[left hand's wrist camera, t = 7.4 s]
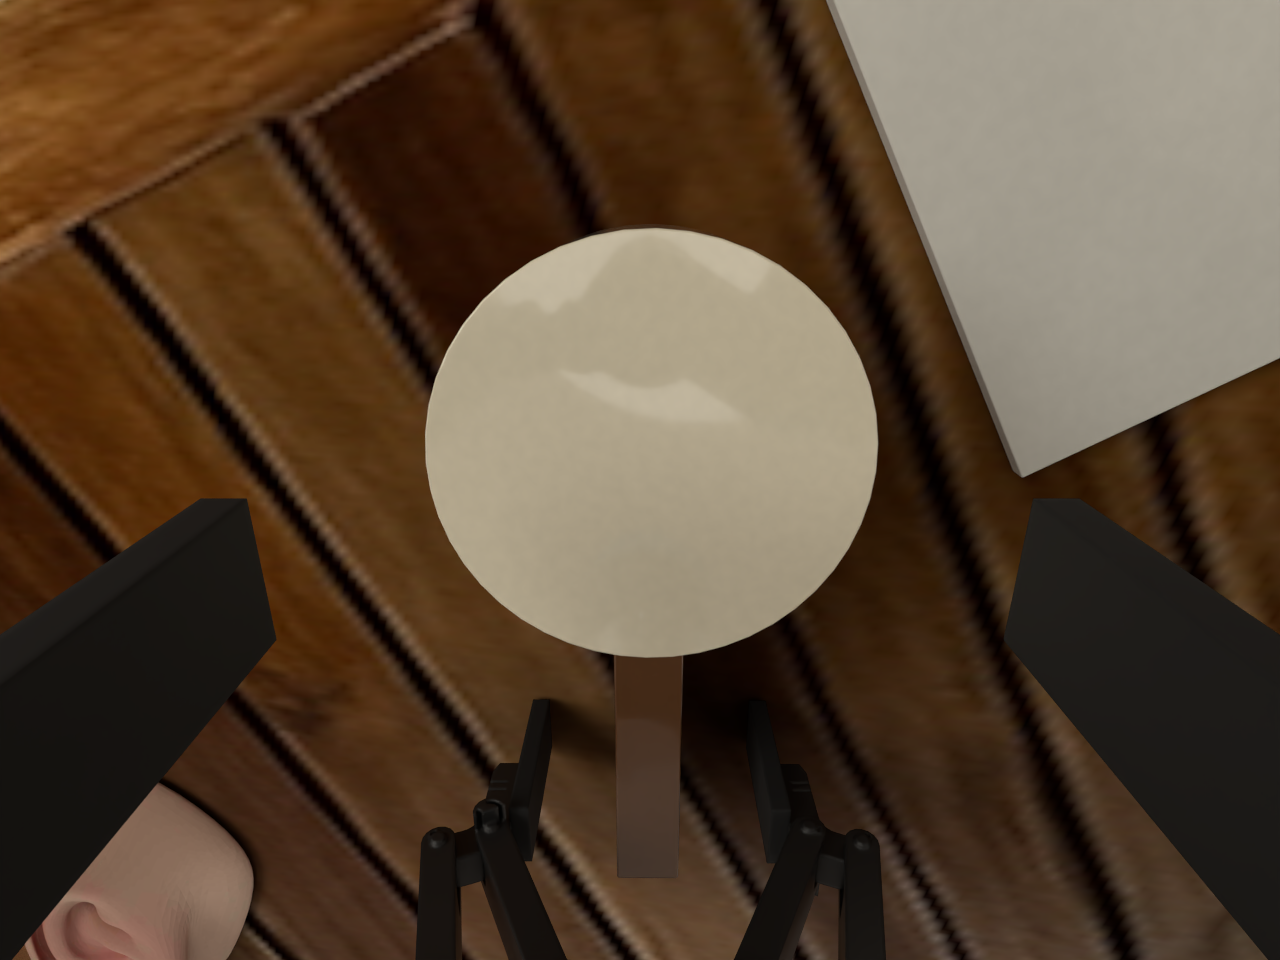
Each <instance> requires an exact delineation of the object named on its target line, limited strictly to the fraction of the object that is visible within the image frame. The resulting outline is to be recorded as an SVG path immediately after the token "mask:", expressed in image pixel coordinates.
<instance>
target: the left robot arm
mask: <svg viewBox="0 0 1280 960" xmlns="http://www.w3.org/2000/svg"><path fill="white" fill-rule="evenodd" d="M275 641H276V635H275V630H274V626H273V621H272V616H271V611H270V607H269V602H268V597H267V593H266V588H265V583H264V578H263V574H262V569H261V564H260V559H259V555H258V550H257V545H256V540H255V536H254V531H253V526H252V522H251V517H250V512H249V507H248V503H247V499H199V500H198V501H197V502H195V503H194V504H192V505H191V506H189V507H188V508H186V509H185V510H183V511H182V512H180V513H179V514H177V515H176V516H174V517H173V518H171V519H170V520H169V521H167V522H166V523H164V524H163V525H161V526H160V527H158V528H157V529H155V530H154V531H152V532H151V533H149V534H148V535H146V536H145V537H144V538H142V539H141V540H139V541H138V542H136V543H135V544H133V545H132V546H130V547H129V548H127V549H126V550H124V551H123V552H121V553H120V554H119V555H117V556H116V557H114V558H113V559H111V560H110V561H108V562H107V563H105V564H104V565H102V566H101V567H99V568H98V569H96V570H95V571H94V572H92V573H91V574H89V575H88V576H86V577H85V578H83V579H82V580H80V581H79V582H77V583H76V584H74V585H73V586H71V587H70V588H68V589H67V590H66V591H64V592H63V593H61V594H60V595H58V596H57V597H55V598H54V599H52V600H51V601H49V602H48V603H46V604H45V605H43V606H42V607H41V608H39V609H38V610H36V611H35V612H33V613H32V614H30V615H29V616H27V617H26V618H24V619H23V620H21V621H20V622H18V623H17V624H16V625H14V626H13V627H11V628H10V629H8V630H7V631H5V632H4V633H2V634H1V635H0V960H12V959H13V958H14V956H15V955H16V954H17V953H18V952H19V950H20V949H21V948H22V947H23V946H24V944H25V943H26V942H27V941H28V940H29V938H30V937H31V936H32V935H33V933H34V932H35V931H36V930H37V929H38V927H39V926H40V925H41V924H42V923H43V921H44V920H45V919H46V918H47V917H48V915H49V914H50V913H51V912H52V911H53V909H54V908H55V907H56V906H57V904H58V903H59V902H60V901H61V900H62V898H63V897H64V896H65V895H66V894H67V892H68V891H69V890H70V889H71V888H72V886H73V885H74V884H75V883H76V881H77V880H78V879H79V878H80V877H81V875H82V874H83V873H84V872H85V871H86V869H87V868H88V867H89V866H90V865H91V863H92V862H93V861H94V860H95V859H96V857H97V856H98V855H99V854H100V852H101V851H102V850H103V849H104V848H105V846H106V845H107V844H108V843H109V842H110V840H111V839H112V838H113V837H114V836H115V834H116V833H117V832H118V831H119V829H120V828H121V827H122V826H123V825H124V823H125V822H126V821H127V820H128V819H129V817H130V816H131V815H132V814H133V813H134V811H135V810H136V809H137V808H138V807H139V805H140V804H141V803H142V802H143V800H144V799H145V798H146V797H147V796H148V794H149V793H150V792H151V791H152V790H153V788H154V787H155V786H156V785H157V784H158V782H159V781H160V780H161V779H162V778H163V776H164V775H165V774H166V773H167V771H168V770H169V769H170V768H171V767H172V765H173V764H174V763H175V762H176V761H177V759H178V758H179V757H180V756H181V755H182V753H183V752H184V751H185V750H186V748H187V747H188V746H189V745H190V744H191V742H192V741H193V740H194V739H195V738H196V736H197V735H198V734H199V733H200V732H201V730H202V729H203V728H204V727H205V726H206V724H207V723H208V722H209V721H210V719H211V718H212V717H213V716H214V715H215V713H216V712H217V711H218V710H219V709H220V707H221V706H222V705H223V704H224V703H225V701H226V700H227V699H228V698H229V696H230V695H231V694H232V693H233V692H234V690H235V689H236V688H237V687H238V686H239V684H240V683H241V682H242V681H243V680H244V678H245V677H246V676H247V675H248V674H249V672H250V671H251V670H252V669H253V667H254V666H255V665H256V664H257V663H258V661H259V660H260V659H261V658H262V657H263V655H264V654H265V653H266V652H267V651H268V649H269V648H270V647H271V646H272V644H273V643H274V642H275ZM1004 641H1005V642H1006V643H1007V644H1008V646H1009V647H1010V648H1011V649H1012V651H1013V652H1014V653H1015V654H1016V655H1017V657H1018V658H1019V659H1020V660H1021V661H1022V663H1023V664H1024V665H1025V666H1026V667H1027V669H1028V670H1029V671H1030V672H1031V674H1032V675H1033V676H1034V677H1035V678H1036V680H1037V681H1038V682H1039V683H1040V684H1041V686H1042V687H1043V688H1044V689H1045V690H1046V692H1047V693H1048V694H1049V695H1050V696H1051V698H1052V699H1053V700H1054V701H1055V703H1056V704H1057V705H1058V706H1059V707H1060V709H1061V710H1062V711H1063V712H1064V713H1065V715H1066V716H1067V717H1068V718H1069V719H1070V721H1071V722H1072V723H1073V724H1074V726H1075V727H1076V728H1077V729H1078V730H1079V732H1080V733H1081V734H1082V735H1083V736H1084V738H1085V739H1086V740H1087V741H1088V742H1089V744H1090V745H1091V746H1092V747H1093V748H1094V750H1095V751H1096V752H1097V753H1098V755H1099V756H1100V757H1101V758H1102V759H1103V761H1104V762H1105V763H1106V764H1107V765H1108V767H1109V768H1110V769H1111V770H1112V771H1113V773H1114V774H1115V775H1116V776H1117V778H1118V779H1119V780H1120V781H1121V782H1122V784H1123V785H1124V786H1125V787H1126V788H1127V790H1128V791H1129V792H1130V793H1131V794H1132V796H1133V797H1134V798H1135V799H1136V800H1137V802H1138V803H1139V804H1140V805H1141V807H1142V808H1143V809H1144V810H1145V811H1146V813H1147V814H1148V815H1149V816H1150V817H1151V819H1152V820H1153V821H1154V822H1155V823H1156V825H1157V826H1158V827H1159V828H1160V830H1161V831H1162V832H1163V833H1164V834H1165V836H1166V837H1167V838H1168V839H1169V840H1170V842H1171V843H1172V844H1173V845H1174V846H1175V848H1176V849H1177V850H1178V851H1179V852H1180V854H1181V855H1182V856H1183V857H1184V859H1185V860H1186V861H1187V862H1188V863H1189V865H1190V866H1191V867H1192V868H1193V869H1194V871H1195V872H1196V873H1197V874H1198V875H1199V877H1200V878H1201V879H1202V880H1203V881H1204V883H1205V884H1206V885H1207V886H1208V888H1209V889H1210V890H1211V891H1212V892H1213V894H1214V895H1215V896H1216V897H1217V898H1218V900H1219V901H1220V902H1221V903H1222V904H1223V906H1224V907H1225V908H1226V909H1227V911H1228V912H1229V913H1230V914H1231V915H1232V917H1233V918H1234V919H1235V920H1236V921H1237V923H1238V924H1239V925H1240V926H1241V927H1242V929H1243V930H1244V931H1245V932H1246V933H1247V935H1248V936H1249V937H1250V938H1251V940H1252V941H1253V942H1254V943H1255V944H1256V946H1257V947H1258V948H1259V949H1260V950H1261V952H1262V953H1263V954H1264V955H1265V956H1266V958H1267V959H1268V960H1280V635H1279V634H1278V633H1276V632H1275V631H1273V630H1272V629H1270V628H1269V627H1267V626H1266V625H1264V624H1263V623H1262V622H1260V621H1259V620H1257V619H1256V618H1254V617H1253V616H1251V615H1250V614H1248V613H1247V612H1245V611H1244V610H1242V609H1241V608H1239V607H1238V606H1237V605H1235V604H1234V603H1232V602H1231V601H1229V600H1228V599H1226V598H1225V597H1223V596H1222V595H1220V594H1219V593H1217V592H1216V591H1214V590H1213V589H1212V588H1210V587H1209V586H1207V585H1206V584H1204V583H1203V582H1201V581H1200V580H1198V579H1197V578H1195V577H1194V576H1192V575H1191V574H1189V573H1188V572H1186V571H1185V570H1184V569H1182V568H1181V567H1179V566H1178V565H1176V564H1175V563H1173V562H1172V561H1170V560H1169V559H1167V558H1166V557H1164V556H1163V555H1161V554H1160V553H1159V552H1157V551H1156V550H1154V549H1153V548H1151V547H1150V546H1148V545H1147V544H1145V543H1144V542H1142V541H1141V540H1139V539H1138V538H1136V537H1135V536H1134V535H1132V534H1131V533H1129V532H1128V531H1126V530H1125V529H1123V528H1122V527H1120V526H1119V525H1117V524H1116V523H1114V522H1113V521H1111V520H1110V519H1109V518H1107V517H1106V516H1104V515H1103V514H1101V513H1100V512H1098V511H1097V510H1095V509H1094V508H1092V507H1091V506H1089V505H1088V504H1086V503H1085V502H1083V501H1082V500H1081V499H1033V503H1032V507H1031V512H1030V517H1029V522H1028V526H1027V531H1026V536H1025V540H1024V545H1023V550H1022V555H1021V559H1020V564H1019V569H1018V574H1017V578H1016V583H1015V588H1014V593H1013V597H1012V602H1011V607H1010V611H1009V616H1008V621H1007V626H1006V630H1005V635H1004Z"/></svg>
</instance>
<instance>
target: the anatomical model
mask: <svg viewBox="0 0 1280 960" xmlns="http://www.w3.org/2000/svg"><path fill="white" fill-rule="evenodd" d="M252 892H253V871H252V867H251V864H250V861H249V859H248V857H247V855H246V854H245V852H244V850H243V849H242V848H241V846H240V845H239V844H238V842H237V841H236V840H235V839H234V838H233V837H232V836H231V835H230V834H229V833H228V832H227V831H226V830H225V829H224V828H223V827H222V826H221V825H220V824H218V823H217V822H216V821H215V820H214V819H213V818H211V817H210V816H209V815H207V814H206V813H205V812H203V811H202V810H201V809H200V808H198V807H197V806H196V805H194V804H193V803H191V802H190V801H188V800H187V799H185V798H184V797H182V796H181V795H179V794H178V793H176V792H174V791H173V790H171V789H169V788H168V787H166V786H164V785H162V784H161V783H159V782H158V784H157V785H156V786H155V787H154V788H153V790H152V791H151V792H150V793H149V794H148V796H147V797H146V798H145V799H144V800H143V802H142V803H141V804H140V805H139V807H138V808H137V809H136V810H135V811H134V813H133V814H132V815H131V816H130V817H129V819H128V820H127V821H126V822H125V823H124V825H123V826H122V827H121V828H120V829H119V831H118V832H117V833H116V834H115V836H114V837H113V838H112V839H111V840H110V842H109V843H108V844H107V845H106V846H105V848H104V849H103V850H102V851H101V852H100V854H99V855H98V856H97V857H96V859H95V860H94V861H93V862H92V863H91V865H90V866H89V867H88V868H87V869H86V871H85V872H84V873H83V874H82V875H81V877H80V878H79V879H78V880H77V881H76V883H75V884H74V885H73V886H72V888H71V889H70V890H69V891H68V892H67V894H66V895H65V896H64V897H63V898H62V900H61V901H60V902H59V903H58V904H57V906H56V907H55V908H54V909H53V911H52V912H51V913H50V914H49V915H48V917H47V918H46V919H45V920H44V921H43V923H42V924H41V925H40V926H39V927H38V929H37V930H36V931H35V932H34V933H33V935H32V936H31V937H30V938H29V940H28V941H27V942H26V943H25V946H26V949H27V951H28V953H29V956H30V958H31V960H226V959H227V958H228V956H229V955H230V953H231V951H232V949H233V948H234V946H235V944H236V942H237V940H238V937H239V935H240V933H241V930H242V928H243V925H244V922H245V919H246V916H247V913H248V910H249V906H250V903H251V898H252Z"/></svg>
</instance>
